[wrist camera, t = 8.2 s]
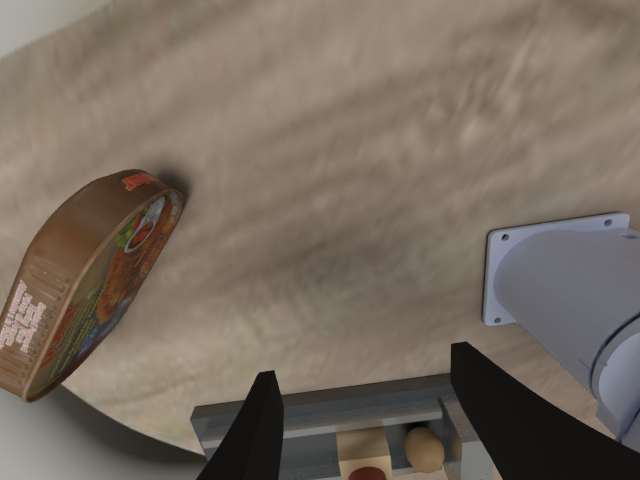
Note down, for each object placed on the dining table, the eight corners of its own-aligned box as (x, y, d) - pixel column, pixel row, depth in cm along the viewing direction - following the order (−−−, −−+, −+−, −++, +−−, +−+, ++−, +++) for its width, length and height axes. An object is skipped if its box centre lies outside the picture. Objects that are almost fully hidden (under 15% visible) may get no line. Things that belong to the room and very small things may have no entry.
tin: (112, 335, 24) (15, 441, 16) (72, 317, 23) (-51, 418, 15) (202, 180, 20) (130, 221, 12) (156, 151, 19) (46, 173, 11)
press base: (465, 371, 26) (501, 428, 21) (462, 447, 30) (491, 511, 25) (194, 407, 27) (169, 470, 22) (224, 477, 30) (208, 544, 26)
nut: (435, 416, 26) (451, 453, 23) (435, 440, 27) (450, 479, 24) (399, 420, 26) (410, 459, 23) (400, 445, 28) (411, 484, 25)
